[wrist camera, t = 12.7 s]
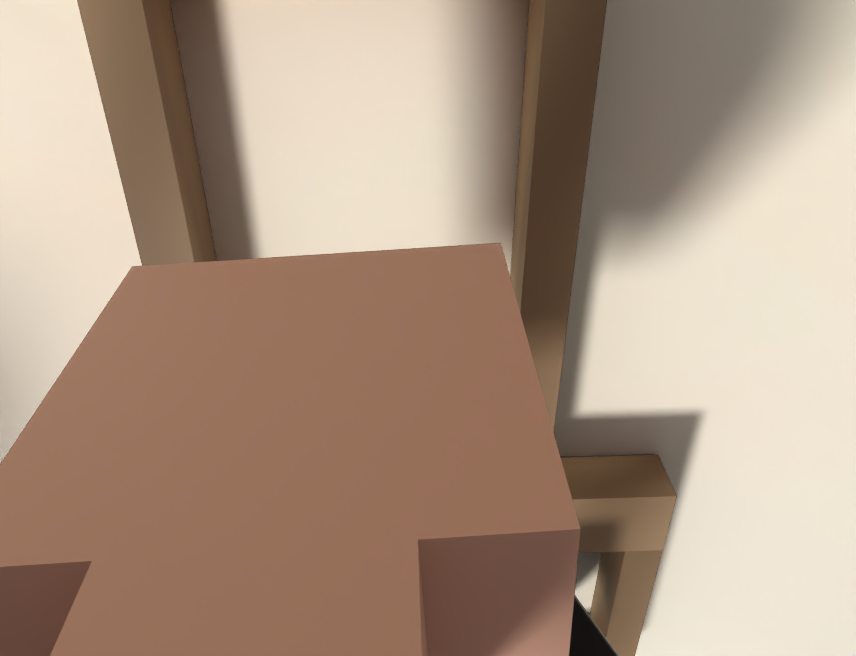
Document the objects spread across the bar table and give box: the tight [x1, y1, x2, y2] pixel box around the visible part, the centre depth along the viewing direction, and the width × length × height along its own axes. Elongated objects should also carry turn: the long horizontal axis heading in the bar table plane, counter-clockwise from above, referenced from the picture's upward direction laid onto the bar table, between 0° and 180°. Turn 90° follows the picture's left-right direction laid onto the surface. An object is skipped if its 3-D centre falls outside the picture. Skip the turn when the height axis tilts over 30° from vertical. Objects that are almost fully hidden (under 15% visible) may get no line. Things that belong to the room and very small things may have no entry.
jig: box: [77, 0, 677, 656], centre depth 17 cm, size 15×22×2 cm
